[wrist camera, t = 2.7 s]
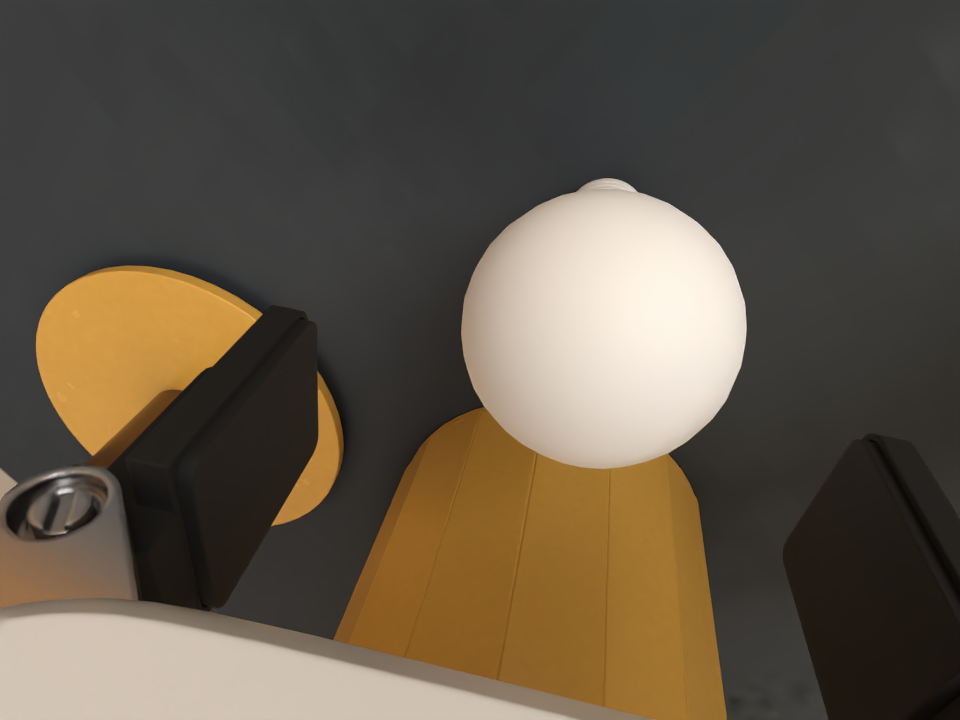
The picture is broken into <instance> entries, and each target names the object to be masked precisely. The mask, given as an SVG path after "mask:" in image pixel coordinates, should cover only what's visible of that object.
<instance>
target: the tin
mask: <svg viewBox="0 0 960 720" xmlns="http://www.w3.org/2000/svg"><path fill="white" fill-rule="evenodd" d="M333 640H335V641H339V642H343V643H347V644H351V645H355V646H359V647H363V648H367V649H371V650H376V651H380V652H384V653H388V654H392V655H396V656H400V657H404V658H408V659H412V660H417V661H421V662H425V663H429V664H433V665H437V666H441V667H445V668H449V669H453V670H457V671H462V672H466V673H470V674H474V675H478V676H482V677H486V678H490V679H494V680H498V681H502V682H506V683H510V684H514V685H518V686H522V687H526V688H530V689H534V690H538V691H542V692H546V693H550V694H554V695H558V696H562V697H566V698H570V699H574V700H578V701H582V702H586V703H590V704H594V705H598V706H602V707H606V708H610V709H614V710H618V711H622V712H626V713H630V714H634V715H638V716H642V717H646V718H650V719H654V720H727V715H726V708H725V700H724V693H723V685H722V678H721V670H720V663H719V655H718V648H717V641H716V633H715V626H714V618H713V611H712V603H711V596H710V589H709V581H708V574H707V566H706V559H705V551H704V544H703V536H702V529H701V522H700V514H699V507H698V501H697V498H696V497H695V495H694V493H693V490H692V488H691V485H690V483H689V481H688V480H687V478H686V476H685V475H684V473H683V471H682V470H681V468H680V467H679V466H678V465H677V464H676V462H675V461H674V460H673V459H672V458H671V456H670V455H669V454H665V455H662V456H660V457H657V458H655V459H652V460H650V461H647V462H643V463H639V464H635V465H630V466H626V467H621V468H607V469H596V468H583V467H578V466H573V465H568V464H564V463H561V462H558V461H556V460H553V459H550V458H548V457H545V456H543V455H541V454H539V453H537V452H535V451H533V450H532V449H530V448H528V447H526V446H524V445H523V444H521V443H520V442H519V441H517V440H516V439H515V438H514V437H512V436H511V435H510V434H509V433H507V432H506V431H505V430H504V429H503V428H502V427H501V425H500V424H499V423H498V422H497V421H496V420H495V419H494V418H493V416H492V415H491V414H490V413H489V412H488V410H487V409H486V408H485V407H482V408H478V409H475V410H472V411H470V412H467V413H465V414H462V415H460V416H458V417H456V418H454V419H453V420H451V421H449V422H447V423H446V424H444V425H442V426H441V427H440V428H439V429H437V430H436V431H435V432H434V433H432V434H431V435H430V436H429V437H428V438H427V440H426V441H425V442H424V443H423V444H422V445H421V446H420V448H419V449H418V451H417V453H416V454H415V456H414V457H413V460H412V462H411V463H410V464H409V465H408V467H407V468H406V469H405V471H404V474H403V476H402V479H401V481H400V483H399V486H398V488H397V490H396V493H395V495H394V497H393V500H392V502H391V505H390V507H389V509H388V512H387V514H386V516H385V519H384V521H383V523H382V526H381V528H380V531H379V533H378V535H377V538H376V540H375V542H374V545H373V547H372V549H371V552H370V554H369V557H368V559H367V561H366V564H365V566H364V568H363V571H362V573H361V576H360V578H359V580H358V583H357V585H356V587H355V590H354V592H353V594H352V597H351V599H350V602H349V604H348V606H347V609H346V611H345V613H344V616H343V618H342V620H341V623H340V625H339V628H338V630H337V632H336V635H335V637H334V639H333Z"/></svg>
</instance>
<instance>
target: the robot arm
mask: <svg viewBox="0 0 960 720" xmlns="http://www.w3.org/2000/svg"><path fill="white" fill-rule="evenodd" d="M318 435H319V430H318V375H317V328H316V324H315V323H314V322H311V321H308V317H307V314H306V313H305V312H304V311H299V310H294V309H289V308H285V307H280V306H275V305H274V306H271V307H269V308H268V309H267V310H266V311H265V312H264V313H263V314H262V315H261V316H260V318H259V319H258V320H257V321H256V322H255V323H254V324H253V325H252V326H251V327H250V328H249V329H248V330H247V331H246V332H245V333H244V334H243V335H242V336H241V337H240V338H239V339H238V340H237V341H236V343H235V344H234V345H233V346H232V347H231V348H230V349H229V350H228V351H227V352H226V353H225V354H224V355H223V356H222V357H221V358H220V359H219V360H218V361H217V362H216V363H215V364H214V365H213V366H212V367H209V368H206V369H205V370H203V371H202V372H201V373H200V374H199V375H198V376H197V377H196V378H195V379H194V380H193V381H192V382H191V383H190V384H189V385H188V386H187V387H186V388H185V389H184V390H183V391H182V392H181V393H180V394H179V395H178V396H177V397H176V398H175V399H174V400H173V401H172V402H171V403H170V404H169V405H168V406H167V408H166V409H165V410H164V411H163V412H162V413H161V414H160V415H159V416H158V417H157V418H156V419H155V420H154V421H153V422H152V423H151V424H150V425H149V426H148V427H147V428H146V429H145V430H144V431H143V432H142V433H141V434H140V435H139V436H138V437H137V438H136V439H135V440H134V441H133V442H132V443H131V444H130V445H129V447H128V448H127V449H126V450H125V451H124V452H123V453H122V454H121V455H120V456H119V457H118V458H117V459H116V460H115V461H114V462H113V463H112V464H111V465H110V466H109V467H108V468H107V469H103V468H100V467H97V466H94V465H80V464H74V465H67V466H60V467H55V468H52V469H49V470H46V471H43V472H40V473H37V474H35V475H33V476H31V477H29V478H27V479H25V480H24V481H22V482H20V483H18V484H17V485H16V486H15V487H13V488H12V489H11V490H10V491H8V492H7V493H6V494H5V495H4V496H3V497H2V499H1V500H0V720H654V719H650V718H646V717H642V716H638V715H634V714H630V713H626V712H622V711H618V710H614V709H610V708H606V707H602V706H598V705H594V704H590V703H586V702H582V701H578V700H574V699H570V698H566V697H562V696H558V695H554V694H550V693H546V692H542V691H538V690H534V689H530V688H526V687H522V686H518V685H514V684H510V683H506V682H502V681H498V680H494V679H490V678H486V677H482V676H478V675H474V674H470V673H466V672H462V671H457V670H453V669H449V668H445V667H441V666H437V665H433V664H429V663H425V662H421V661H417V660H412V659H408V658H404V657H400V656H396V655H392V654H388V653H384V652H380V651H376V650H371V649H367V648H363V647H359V646H355V645H351V644H347V643H343V642H339V641H335V640H330V639H326V638H322V637H318V636H314V635H310V634H305V633H301V632H297V631H292V630H288V629H283V628H279V627H274V626H270V625H266V624H261V623H257V622H252V621H248V620H243V619H239V618H235V617H230V616H226V615H221V614H217V613H212V612H210V610H211V608H212V607H215V608H220V607H222V606H223V605H224V604H225V603H226V601H227V600H228V598H229V596H230V595H231V593H232V591H233V590H234V588H235V586H236V584H237V583H238V581H239V579H240V578H241V576H242V574H243V573H244V571H245V569H246V568H247V566H248V564H249V562H250V561H251V559H252V557H253V556H254V554H255V552H256V551H257V549H258V547H259V545H260V544H261V542H262V540H263V539H264V537H265V535H266V534H267V532H268V530H269V529H270V527H271V525H272V523H273V522H274V520H275V518H276V517H277V515H278V513H279V512H280V510H281V508H282V506H283V505H284V503H285V501H286V500H287V498H288V496H289V495H290V493H291V491H292V489H293V488H294V486H295V484H296V483H297V481H298V479H299V478H300V476H301V474H302V473H303V471H304V469H305V467H306V466H307V464H308V462H309V461H310V459H311V457H312V456H313V454H314V452H315V449H316V446H317V442H318ZM783 563H784V566H785V570H786V573H787V577H788V580H789V584H790V587H791V591H792V594H793V597H794V601H795V604H796V608H797V611H798V615H799V618H800V622H801V625H802V629H803V632H804V636H805V639H806V642H807V646H808V649H809V653H810V656H811V660H812V663H813V667H814V670H815V674H816V677H817V680H818V684H819V687H820V691H821V694H822V698H823V701H824V705H825V708H826V712H827V715H828V718H829V720H960V518H959V517H958V515H957V514H956V512H955V510H954V509H953V507H952V506H951V504H950V502H949V501H948V499H947V498H946V496H945V494H944V493H943V491H942V490H941V488H940V486H939V485H938V483H937V481H936V480H935V478H934V477H933V475H932V473H931V472H930V470H929V469H928V467H927V465H926V464H925V462H924V461H923V459H922V457H921V456H920V454H919V453H918V451H917V449H916V448H915V446H914V445H913V444H912V443H911V442H908V441H906V440H901V439H897V438H892V437H887V436H883V435H878V434H868V435H866V436H864V437H863V438H862V440H860V439H856V440H854V441H852V442H851V443H850V444H849V446H848V447H847V449H846V450H845V452H844V453H843V455H842V456H841V458H840V459H839V461H838V462H837V464H836V465H835V467H834V469H833V470H832V472H831V473H830V475H829V476H828V478H827V479H826V481H825V482H824V484H823V485H822V487H821V488H820V490H819V491H818V493H817V494H816V496H815V497H814V499H813V500H812V502H811V504H810V505H809V507H808V508H807V510H806V511H805V513H804V514H803V516H802V517H801V519H800V520H799V522H798V523H797V525H796V526H795V528H794V529H793V531H792V532H791V534H790V536H789V537H788V539H787V540H786V542H785V545H784V548H783Z"/></svg>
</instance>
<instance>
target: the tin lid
mask: <svg viewBox="0 0 960 720" xmlns="http://www.w3.org/2000/svg"><path fill="white" fill-rule="evenodd" d="M261 315H262V313H261V312H260V311H258V310H257V309H255V308H254V307H252V306H251V305H249V304H248V303H246V302H245V301H243V300H242V299H240V298H238V297H237V296H235V295H233V294H231V293H229V292H227V291H225V290H223V289H221V288H220V287H218V286H216V285H213V284H211V283H208V282H206V281H203V280H201V279H198V278H196V277H193V276H190V275H187V274H183V273H180V272H176V271H173V270H168V269H162V268H156V267H150V266H128V265H127V266H118V267H109V268H104V269H101V270H97V271H94V272H90V273H88V274H86V275H84V276H82V277H80V278H78V279H76V280H75V281H73V282H71V283H70V284H68V285H67V286H65V287H64V288H63V289H62V290H60V291H59V292H58V293H57V294H55V296H54V297H53V298H52V300H51V301H50V302H49V303H48V305H47V306H46V308H45V310H44V312H43V314H42V316H41V318H40V321H39V325H38V330H37V334H36V355H37V362H38V368H39V371H40V375H41V378H42V382H43V384H44V386H45V389H46V391H47V394H48V396H49V398H50V400H51V402H52V404H53V405H54V407H55V409H56V411H57V413H58V414H59V416H60V417H61V419H62V420H63V422H64V423H65V424H66V426H67V427H68V429H69V430H70V431H71V432H72V434H73V435H74V436H75V437H76V439H77V440H78V441H79V442H80V443H81V444H82V445H83V446H84V447H85V449H86V450H87V451H88V452H89V453H90V454H91V455H92V457H91V458H90V459H89V460H88V461H87V462H86V463H85V464H84V465H94V466H97V467H100V468H103V469H107V468H108V467H109V466H110V465H111V464H112V463H113V462H114V461H115V460H116V459H117V458H118V457H119V456H120V455H121V454H122V453H123V452H124V451H125V450H126V449H127V448H128V447H129V445H130V444H131V443H132V442H133V441H134V440H135V439H136V438H137V437H138V436H139V435H140V434H141V433H142V432H143V431H144V430H145V429H146V428H147V427H148V426H149V425H150V424H151V423H152V422H153V421H154V420H155V419H156V418H157V417H158V416H159V415H160V414H161V413H162V412H163V411H164V410H165V409H166V408H167V406H168V405H169V404H170V403H171V402H172V401H173V400H174V399H175V398H176V397H177V396H178V395H179V394H180V393H181V392H182V391H183V390H184V389H185V388H186V387H187V386H188V385H189V384H190V383H191V382H192V381H193V380H194V379H195V378H196V377H197V376H198V375H199V374H200V373H201V372H202V371H203V370H205V369H206V368H209V367H212V366H213V365H214V364H215V363H216V362H217V361H218V360H219V359H220V358H221V357H222V356H223V355H224V354H225V353H226V352H227V351H228V350H229V349H230V348H231V347H232V346H233V345H234V344H235V343H236V341H237V340H238V339H239V338H240V337H241V336H242V335H243V334H244V333H245V332H246V331H247V330H248V329H249V328H250V327H251V326H252V325H253V324H254V323H255V322H256V321H257V320H258V319H259V318H260V316H261ZM317 375H318V430H319V435H318V442H317V446H316V449H315V452H314V454H313V456H312V457H311V459H310V461H309V462H308V464H307V466H306V467H305V469H304V471H303V473H302V474H301V476H300V478H299V479H298V481H297V483H296V484H295V486H294V488H293V489H292V491H291V493H290V495H289V496H288V498H287V500H286V501H285V503H284V505H283V506H282V508H281V510H280V512H279V513H278V515H277V517H276V518H275V520H274V522H273V523H272V525H271V526H273V525H278V524H283V523H286V522H289V521H292V520H295V519H297V518H299V517H301V516H303V515H305V514H306V513H308V512H310V511H311V510H312V509H314V508H315V507H316V506H317V505H318V504H320V503H321V502H322V500H323V499H324V498H325V497H326V495H327V494H328V493H329V491H330V489H331V487H332V486H333V484H334V482H335V480H336V478H337V476H338V474H339V471H340V467H341V464H342V458H343V448H344V444H343V431H342V426H341V422H340V417H339V413H338V411H337V408H336V405H335V403H334V400H333V397H332V395H331V393H330V391H329V389H328V388H327V386H326V384H325V382H324V380H323V378H322V377H321V375H320V374H319V372H318V371H317Z"/></svg>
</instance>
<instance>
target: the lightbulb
mask: <svg viewBox="0 0 960 720" xmlns="http://www.w3.org/2000/svg"><path fill="white" fill-rule="evenodd" d="M746 330H747V326H746V310H745V302H744V298H743V295H742V292H741V289H740V286H739V283H738V280H737V277H736V274H735V271H734V268H733V266H732V264H731V263H730V261H729V259H728V258H727V256H726V255H725V253H724V251H723V250H722V248H721V246H720V245H719V244H718V242H717V241H716V240H715V239H714V238H713V237H712V236H711V235H710V234H709V233H708V232H707V231H706V230H705V229H704V228H703V227H702V226H701V225H700V224H699V223H697V222H696V221H695V220H693V219H692V218H690V217H689V216H687V215H686V214H684V213H683V212H681V211H680V210H678V209H677V208H675V207H674V206H672V205H670V204H669V203H666V202H664V201H661V200H659V199H656V198H654V197H651V196H648V195H646V194H643V193H638V192H637V191H636V190H635V189H634V188H633V187H632V186H630V185H629V184H627V183H626V182H623V181H621V180H617V179H612V178H602V179H598V180H594V181H591V182H589V183H587V184H585V185H584V186H582V187H581V188H580V189H579V190H578V191H577V192H574V193H569V194H565V195H561V196H559V197H556V198H554V199H552V200H549V201H547V202H545V203H542V204H540V205H538V206H536V207H535V208H533V209H532V210H530V211H529V212H527V213H526V214H524V215H523V216H522V217H520V218H519V219H517V220H516V221H514V222H513V223H511V224H510V225H508V226H507V227H506V228H505V229H504V230H503V232H502V233H501V234H500V235H499V236H498V237H497V238H496V239H495V240H494V241H493V242H492V243H491V244H490V245H489V247H488V249H487V250H486V252H485V253H484V255H483V257H482V258H481V260H480V261H479V263H478V265H477V267H476V269H475V271H474V273H473V275H472V278H471V281H470V284H469V286H468V289H467V292H466V295H465V298H464V306H463V315H462V328H461V337H462V345H463V354H464V359H465V363H466V367H467V370H468V373H469V376H470V379H471V382H472V385H473V388H474V390H475V392H476V393H477V395H478V397H479V398H480V400H481V402H482V403H483V405H484V407H485V408H486V409H487V410H488V412H489V413H490V414H491V415H492V416H493V418H494V419H495V420H496V421H497V422H498V423H499V424H500V425H501V427H502V428H503V429H504V430H505V431H506V432H507V433H509V434H510V435H511V436H512V437H514V438H515V439H516V440H517V441H519V442H520V443H521V444H523V445H524V446H526V447H528V448H530V449H532V450H533V451H535V452H537V453H539V454H541V455H543V456H545V457H548V458H550V459H553V460H556V461H558V462H561V463H564V464H568V465H573V466H578V467H583V468H596V469H607V468H621V467H626V466H630V465H635V464H639V463H643V462H647V461H650V460H652V459H655V458H657V457H660V456H662V455H665V454H668V453H669V452H671V451H672V450H674V449H676V448H677V447H679V446H681V445H682V444H684V443H686V442H687V441H688V440H689V439H691V438H692V437H693V436H694V435H695V434H696V433H698V432H699V431H700V430H701V429H702V428H703V427H704V426H705V425H707V424H708V423H709V422H710V421H711V420H712V419H713V418H714V416H715V415H716V414H717V412H718V411H719V410H720V408H721V407H722V405H723V404H724V403H725V401H726V400H727V397H728V395H729V393H730V391H731V388H732V386H733V384H734V381H735V379H736V377H737V375H738V372H739V370H740V368H741V364H742V358H743V353H744V348H745V342H746Z"/></svg>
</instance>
